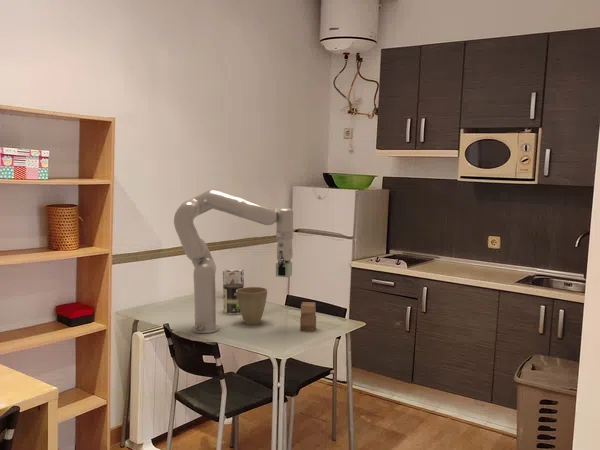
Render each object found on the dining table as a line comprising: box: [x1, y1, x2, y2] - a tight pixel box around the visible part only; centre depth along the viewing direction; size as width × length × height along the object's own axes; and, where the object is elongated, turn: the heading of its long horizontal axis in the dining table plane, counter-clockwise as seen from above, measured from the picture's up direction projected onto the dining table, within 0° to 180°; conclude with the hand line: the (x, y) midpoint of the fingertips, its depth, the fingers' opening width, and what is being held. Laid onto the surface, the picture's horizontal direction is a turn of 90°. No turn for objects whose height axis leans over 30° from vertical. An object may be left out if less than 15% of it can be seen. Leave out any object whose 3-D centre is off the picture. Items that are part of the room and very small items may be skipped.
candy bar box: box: [222, 268, 245, 300], centre depth 336 cm, size 11×5×16 cm, turn 81°
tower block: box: [300, 301, 316, 319], centre depth 272 cm, size 6×6×6 cm
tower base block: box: [299, 315, 317, 333], centre depth 273 cm, size 6×6×6 cm
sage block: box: [275, 261, 293, 278], centre depth 272 cm, size 6×6×6 cm
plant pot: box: [236, 286, 268, 325], centre depth 284 cm, size 15×15×16 cm
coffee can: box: [222, 284, 243, 316], centre depth 304 cm, size 10×10×14 cm
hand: (283, 273), depth 273 cm, fingers closed on sage block, 6 cm apart
